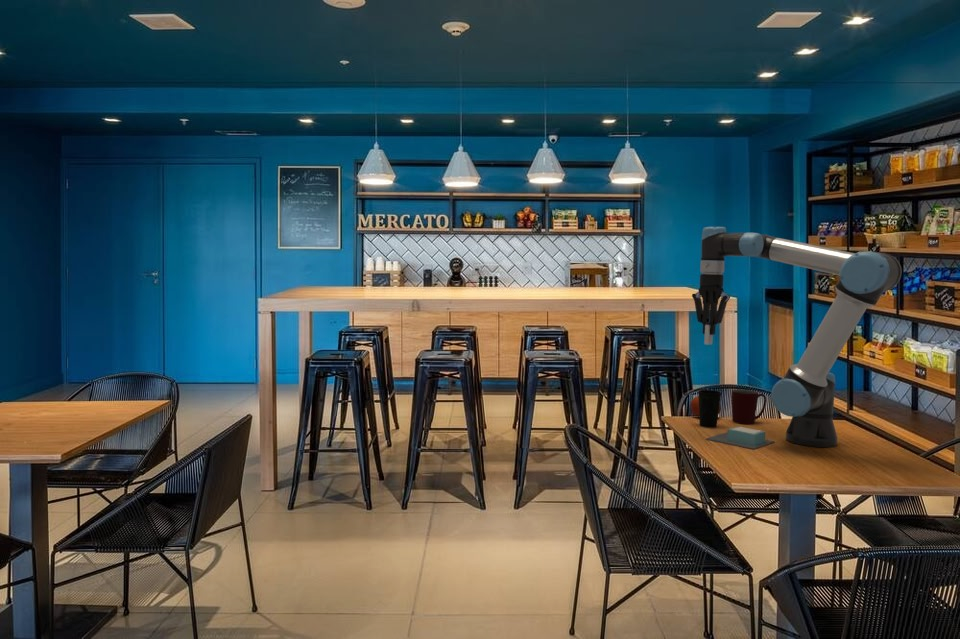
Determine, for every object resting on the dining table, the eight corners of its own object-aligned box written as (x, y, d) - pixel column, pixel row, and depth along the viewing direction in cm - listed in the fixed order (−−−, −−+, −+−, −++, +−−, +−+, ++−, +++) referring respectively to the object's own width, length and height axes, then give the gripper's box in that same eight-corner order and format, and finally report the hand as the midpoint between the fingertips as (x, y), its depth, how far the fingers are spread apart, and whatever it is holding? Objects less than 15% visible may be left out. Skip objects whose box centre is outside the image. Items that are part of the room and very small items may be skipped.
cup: (721, 425, 257) (723, 391, 256) (717, 429, 250) (719, 394, 249) (698, 422, 260) (700, 389, 259) (694, 426, 254) (696, 392, 253)
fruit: (720, 415, 273) (721, 394, 272) (720, 421, 263) (721, 399, 262) (690, 413, 276) (691, 392, 275) (689, 419, 266) (690, 397, 265)
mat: (727, 433, 245) (727, 432, 245) (774, 442, 233) (774, 441, 233) (706, 439, 235) (706, 438, 235) (753, 449, 223) (753, 448, 223)
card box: (728, 428, 233) (755, 434, 226) (738, 425, 237) (765, 431, 231) (727, 440, 233) (754, 445, 226) (738, 437, 238) (764, 442, 231)
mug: (760, 420, 267) (761, 390, 266) (769, 425, 258) (770, 394, 257) (726, 419, 267) (728, 389, 266) (734, 424, 258) (736, 393, 257)
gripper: (688, 273, 245) (685, 342, 247) (724, 274, 236) (720, 346, 238) (700, 273, 250) (696, 341, 252) (735, 274, 241) (732, 345, 243)
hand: (708, 344), depth 245 cm, fingers closed
